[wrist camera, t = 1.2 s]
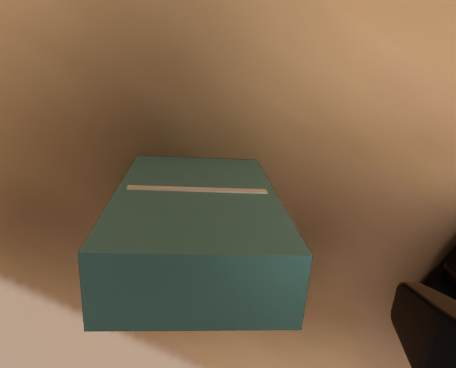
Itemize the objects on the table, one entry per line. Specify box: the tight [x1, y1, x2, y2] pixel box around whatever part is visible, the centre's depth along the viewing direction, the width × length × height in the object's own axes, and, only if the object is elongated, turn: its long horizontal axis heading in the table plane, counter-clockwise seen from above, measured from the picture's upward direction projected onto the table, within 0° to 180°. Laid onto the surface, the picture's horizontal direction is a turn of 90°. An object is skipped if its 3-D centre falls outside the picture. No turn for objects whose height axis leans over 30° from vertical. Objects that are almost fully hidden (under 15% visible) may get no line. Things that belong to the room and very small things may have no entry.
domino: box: [78, 155, 313, 331], centre depth 12 cm, size 2×5×8 cm, turn 86°
